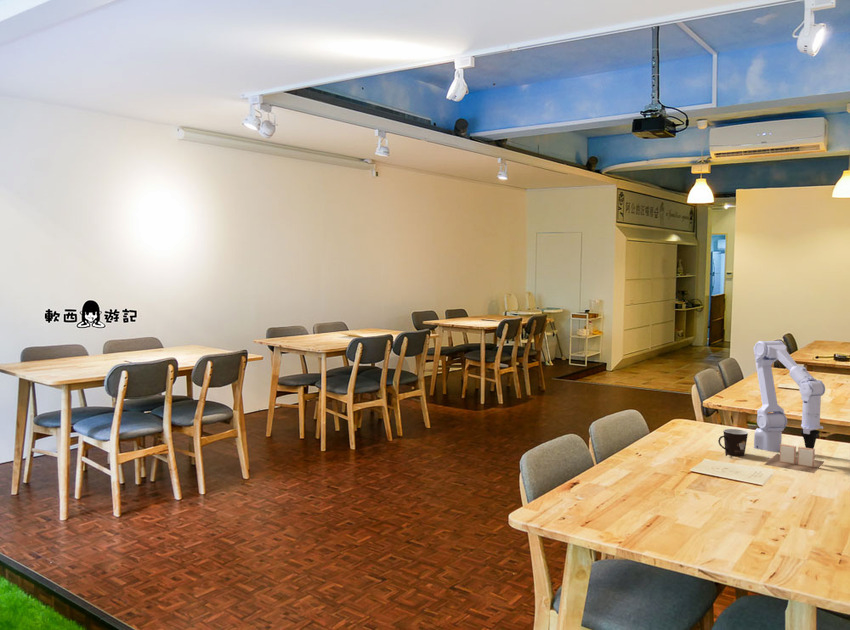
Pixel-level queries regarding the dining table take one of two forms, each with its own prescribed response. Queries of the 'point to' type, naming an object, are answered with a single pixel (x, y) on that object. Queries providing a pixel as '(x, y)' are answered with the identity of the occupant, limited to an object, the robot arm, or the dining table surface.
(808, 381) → the robot arm
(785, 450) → the tile left
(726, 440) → the coffee mug
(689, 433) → the dining table surface
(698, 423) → the dining table surface
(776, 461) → the board
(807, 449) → the tile right
